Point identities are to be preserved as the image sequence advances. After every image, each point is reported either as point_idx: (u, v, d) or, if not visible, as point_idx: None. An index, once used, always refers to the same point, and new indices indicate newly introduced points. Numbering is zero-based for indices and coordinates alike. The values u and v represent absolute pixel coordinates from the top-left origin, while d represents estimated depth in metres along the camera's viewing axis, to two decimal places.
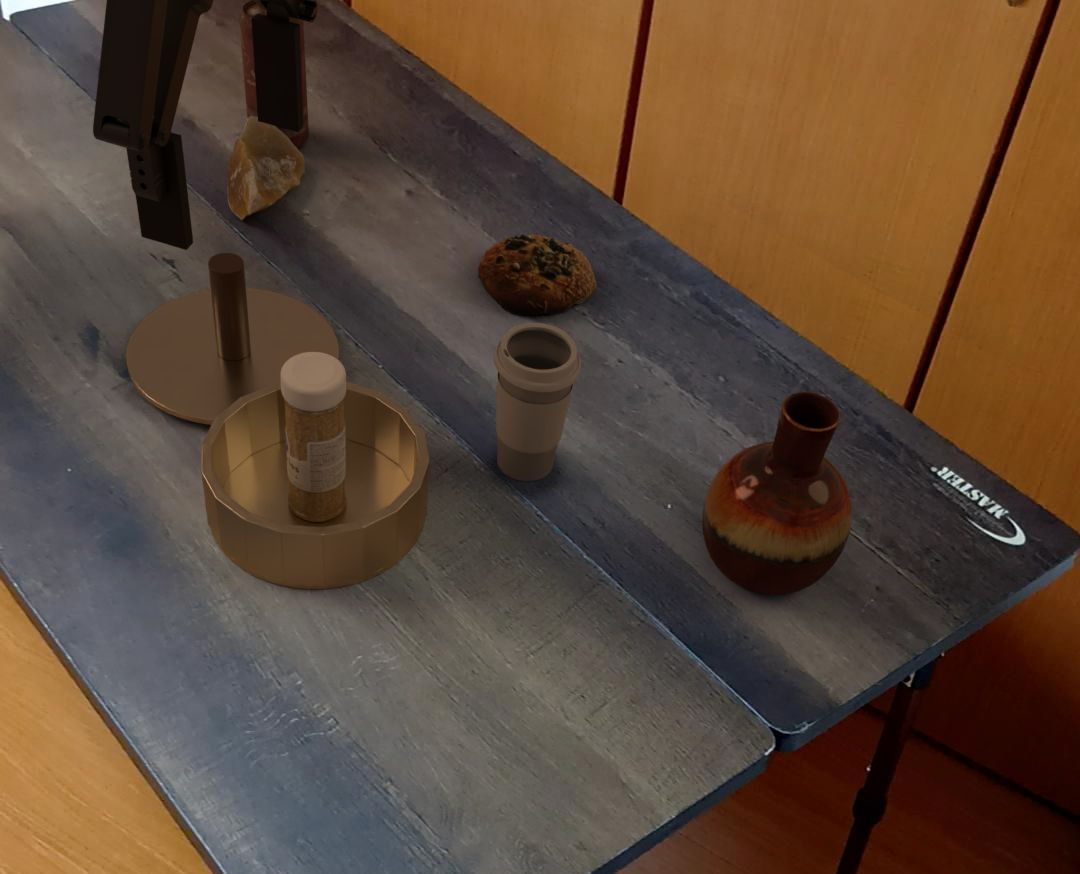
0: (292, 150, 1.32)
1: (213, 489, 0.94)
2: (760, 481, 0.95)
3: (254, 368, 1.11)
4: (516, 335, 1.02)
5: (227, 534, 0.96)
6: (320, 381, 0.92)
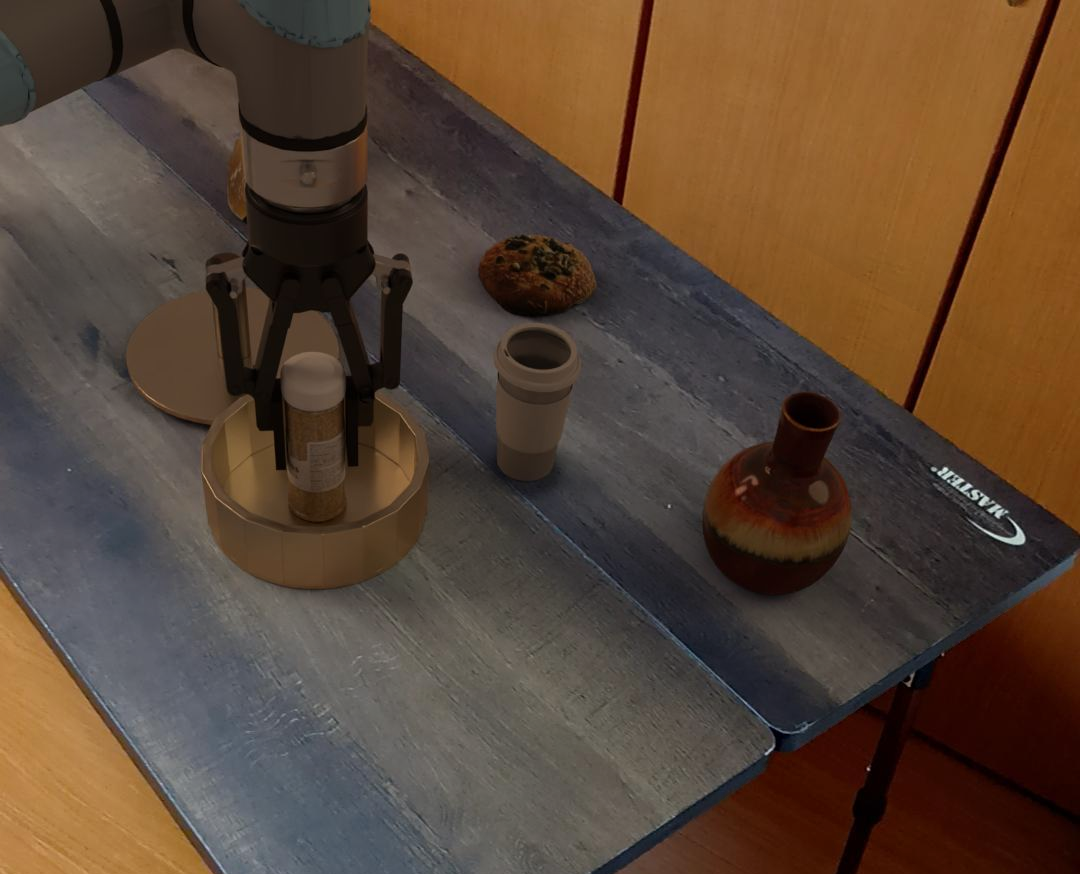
0: None
1: (213, 489, 0.94)
2: (760, 481, 0.95)
3: None
4: (516, 335, 1.02)
5: (227, 534, 0.96)
6: (320, 381, 0.92)
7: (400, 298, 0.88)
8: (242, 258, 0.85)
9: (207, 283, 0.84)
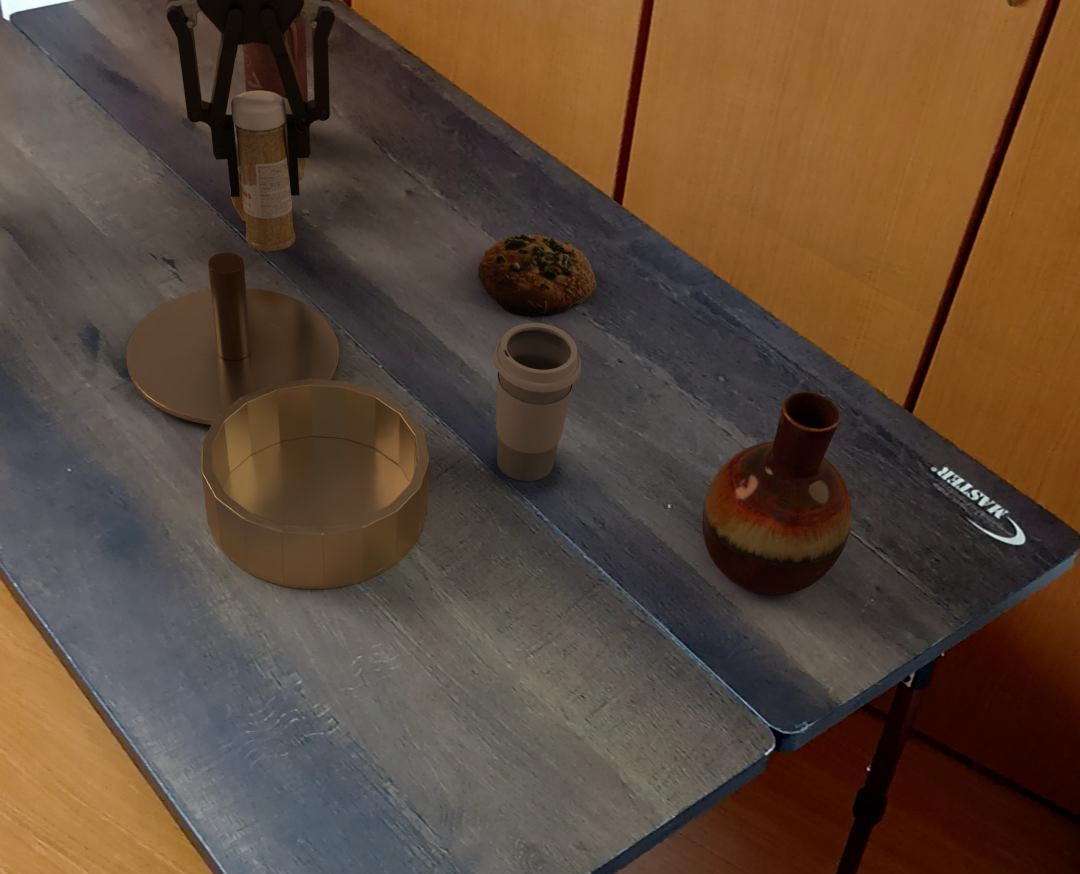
0: None
1: (213, 489, 0.94)
2: (760, 481, 0.95)
3: (254, 368, 1.11)
4: (516, 335, 1.02)
5: (227, 534, 0.96)
6: (263, 104, 1.12)
7: (325, 32, 1.08)
8: None
9: (168, 13, 1.05)
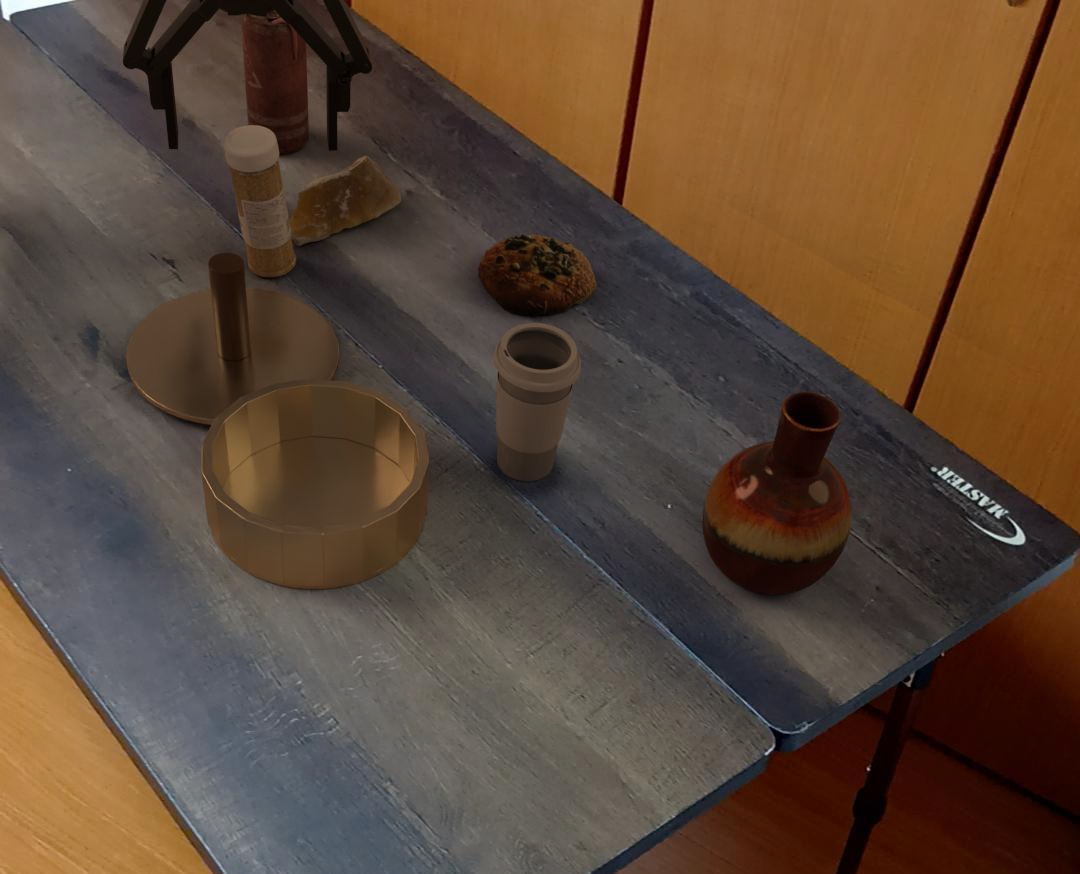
0: None
1: (213, 489, 0.94)
2: (760, 481, 0.95)
3: (254, 368, 1.11)
4: (516, 335, 1.02)
5: (227, 534, 0.96)
6: (248, 147, 1.11)
7: None
8: None
9: None
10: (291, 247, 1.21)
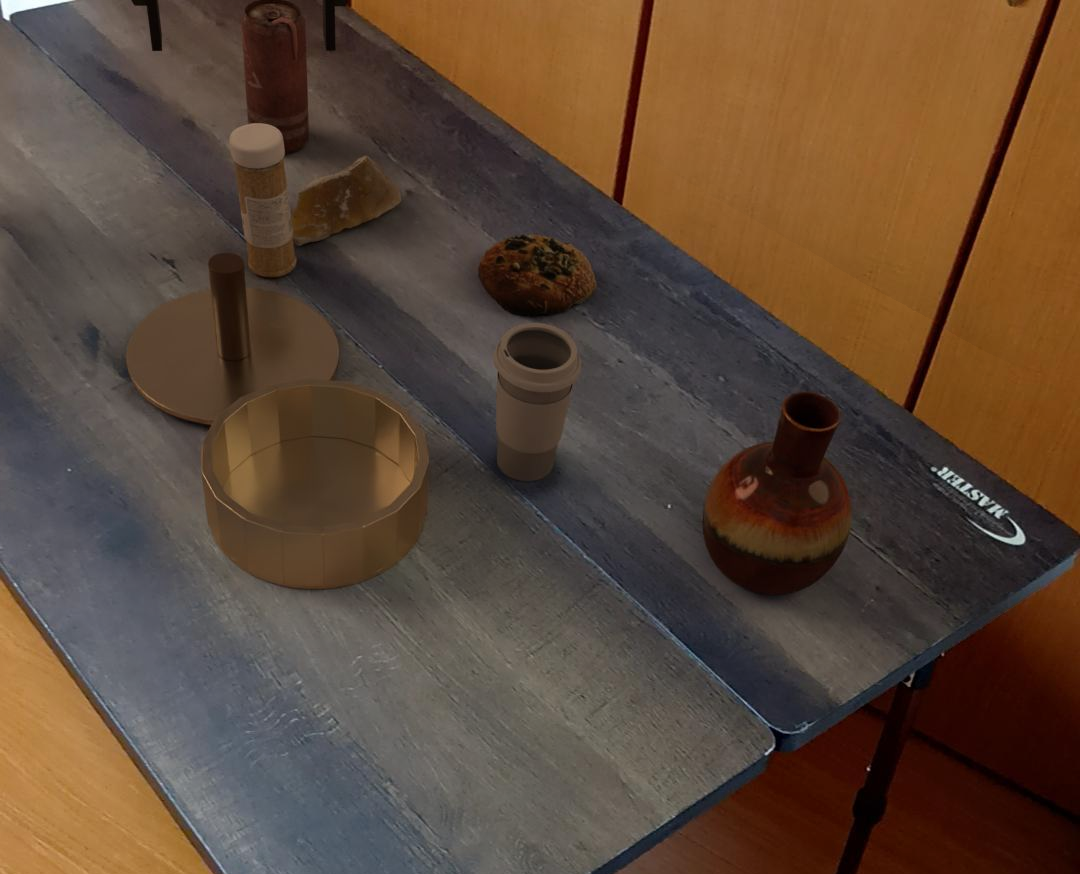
0: None
1: (213, 489, 0.94)
2: (760, 481, 0.95)
3: (254, 368, 1.11)
4: (516, 335, 1.02)
5: (227, 534, 0.96)
6: (254, 143, 1.12)
7: None
8: None
9: None
10: (292, 248, 1.21)
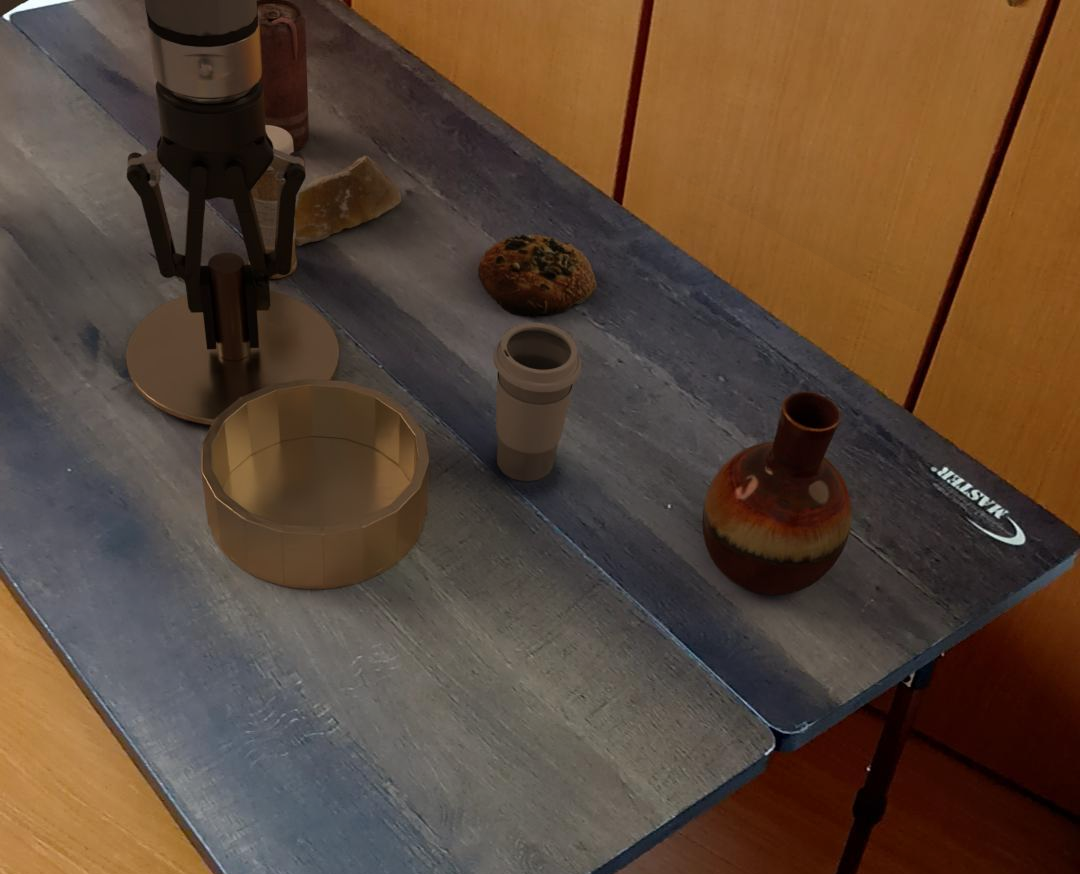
0: None
1: (213, 489, 0.94)
2: (760, 481, 0.95)
3: (254, 368, 1.11)
4: (516, 335, 1.02)
5: (227, 534, 0.96)
6: None
7: (293, 190, 1.01)
8: (157, 149, 0.98)
9: (127, 173, 0.97)
10: (294, 251, 1.21)
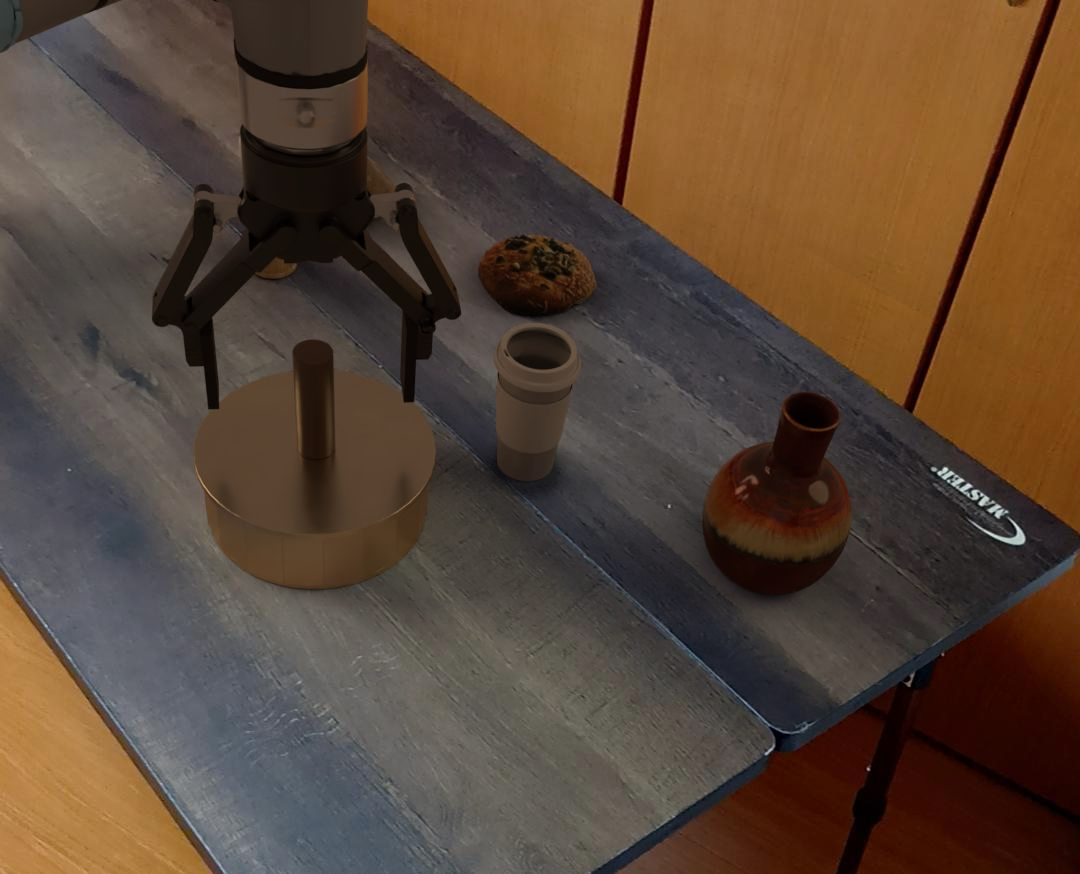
0: None
1: None
2: (760, 481, 0.95)
3: (341, 468, 0.96)
4: (516, 335, 1.02)
5: (227, 534, 0.96)
6: None
7: (413, 229, 0.84)
8: None
9: (198, 207, 0.80)
10: None
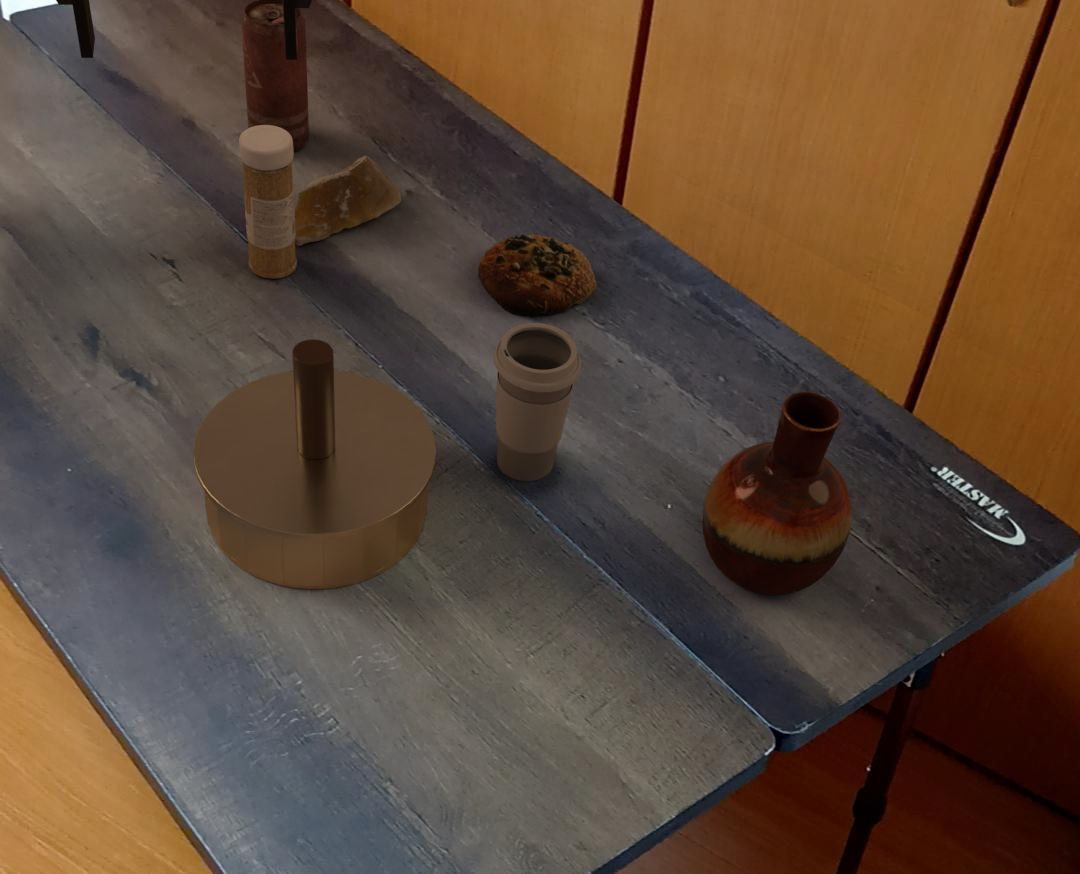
0: None
1: None
2: (760, 481, 0.95)
3: (341, 468, 0.96)
4: (516, 335, 1.02)
5: (227, 534, 0.96)
6: (263, 145, 1.12)
7: None
8: None
9: None
10: (294, 251, 1.21)
